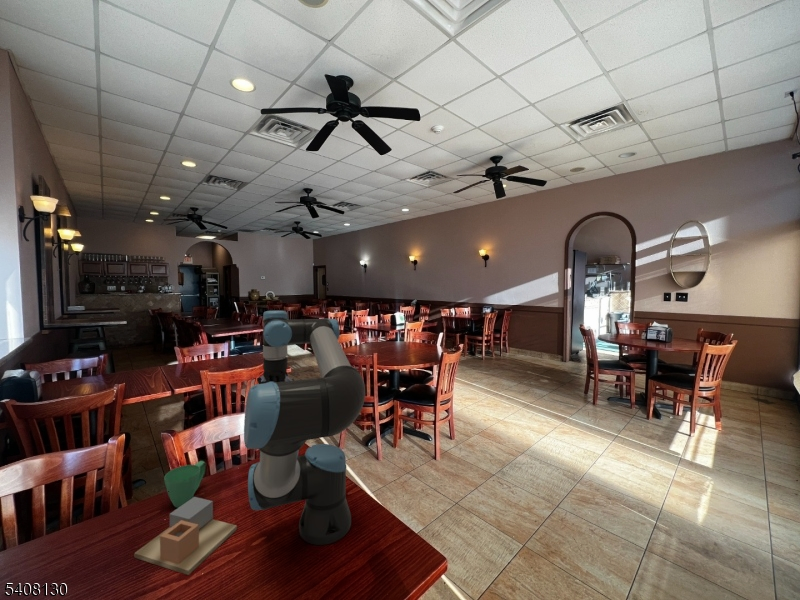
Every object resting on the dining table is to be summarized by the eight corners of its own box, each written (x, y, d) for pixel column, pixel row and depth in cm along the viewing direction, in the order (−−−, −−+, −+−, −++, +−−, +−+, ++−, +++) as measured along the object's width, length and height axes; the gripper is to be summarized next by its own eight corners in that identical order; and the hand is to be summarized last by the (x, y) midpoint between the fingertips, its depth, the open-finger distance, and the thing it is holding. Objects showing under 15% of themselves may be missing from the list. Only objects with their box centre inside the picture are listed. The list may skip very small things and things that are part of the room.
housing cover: (212, 518, 99) (212, 501, 99) (189, 537, 91) (189, 519, 91) (194, 513, 101) (194, 496, 101) (169, 532, 93) (169, 514, 93)
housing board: (236, 529, 97) (236, 509, 97) (188, 575, 81) (188, 551, 81) (188, 516, 102) (188, 497, 101) (134, 557, 86) (134, 535, 86)
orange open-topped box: (198, 546, 89) (198, 524, 89) (178, 564, 83) (178, 541, 83) (181, 541, 91) (181, 520, 90) (160, 558, 85) (160, 535, 85)
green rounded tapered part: (184, 514, 103) (184, 483, 102) (156, 511, 104) (156, 480, 104) (216, 486, 117) (216, 458, 117) (191, 483, 119) (191, 456, 118)
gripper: (299, 356, 110) (299, 425, 111) (266, 353, 114) (266, 421, 115) (285, 361, 103) (285, 435, 104) (250, 358, 107) (251, 429, 108)
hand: (275, 427), depth 110 cm, fingers closed
